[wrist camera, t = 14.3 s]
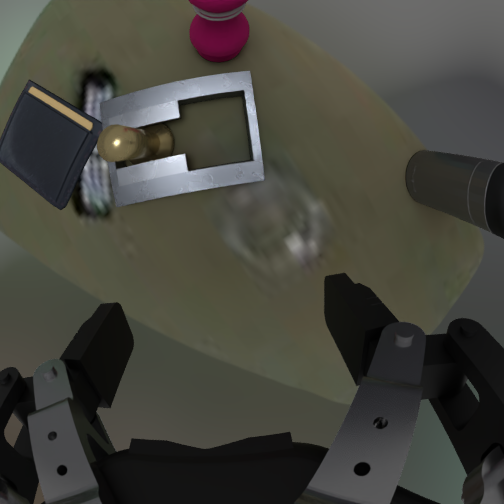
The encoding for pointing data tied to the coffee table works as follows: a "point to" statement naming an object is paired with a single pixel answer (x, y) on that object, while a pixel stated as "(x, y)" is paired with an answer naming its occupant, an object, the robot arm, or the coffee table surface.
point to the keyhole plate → (176, 167)
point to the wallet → (48, 143)
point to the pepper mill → (219, 28)
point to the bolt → (135, 143)
